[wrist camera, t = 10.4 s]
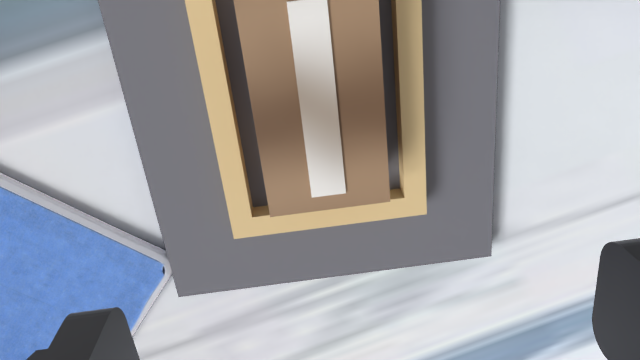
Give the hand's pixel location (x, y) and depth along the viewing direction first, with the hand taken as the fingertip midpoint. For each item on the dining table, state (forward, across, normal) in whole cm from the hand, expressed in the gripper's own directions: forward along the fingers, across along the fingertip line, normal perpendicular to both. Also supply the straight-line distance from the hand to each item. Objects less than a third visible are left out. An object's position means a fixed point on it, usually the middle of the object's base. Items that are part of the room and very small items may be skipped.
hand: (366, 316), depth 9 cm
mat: (+16, 0, 0) cm, 16 cm away
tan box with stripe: (+15, 0, 0) cm, 15 cm away
